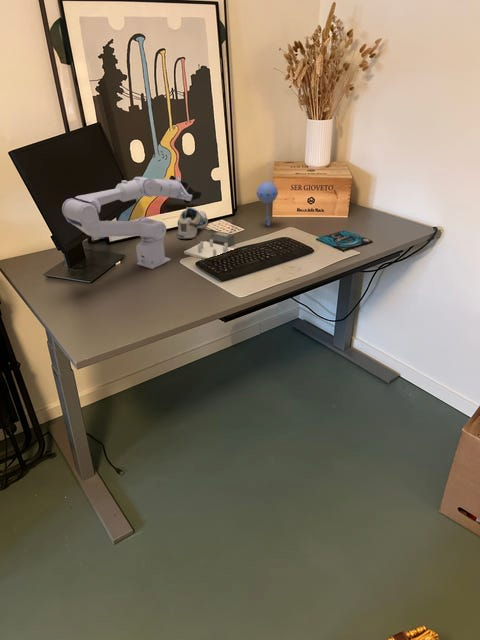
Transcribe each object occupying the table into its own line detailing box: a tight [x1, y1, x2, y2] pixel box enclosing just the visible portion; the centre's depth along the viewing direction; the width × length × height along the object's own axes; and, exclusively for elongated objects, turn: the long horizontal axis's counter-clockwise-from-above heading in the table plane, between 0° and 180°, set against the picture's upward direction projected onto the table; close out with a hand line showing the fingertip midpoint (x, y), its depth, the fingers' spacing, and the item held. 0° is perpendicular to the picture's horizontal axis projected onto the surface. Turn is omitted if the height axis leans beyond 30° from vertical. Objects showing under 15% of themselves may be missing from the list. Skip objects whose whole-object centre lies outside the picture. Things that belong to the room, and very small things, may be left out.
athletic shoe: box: [177, 206, 209, 240], centre depth 198 cm, size 10×23×12 cm, turn 174°
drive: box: [210, 230, 235, 248], centre depth 185 cm, size 8×4×4 cm, turn 55°
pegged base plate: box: [183, 238, 235, 259], centre depth 178 cm, size 12×16×4 cm
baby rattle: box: [256, 181, 279, 227], centre depth 198 cm, size 9×9×18 cm
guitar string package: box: [315, 229, 374, 253], centre depth 184 cm, size 15×1×15 cm
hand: (193, 190), depth 176 cm, fingers open, 7 cm apart
